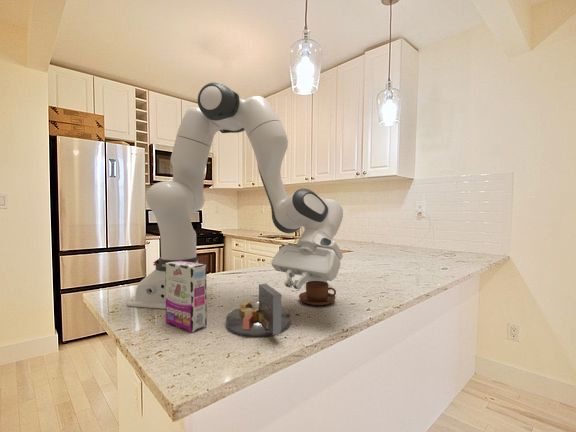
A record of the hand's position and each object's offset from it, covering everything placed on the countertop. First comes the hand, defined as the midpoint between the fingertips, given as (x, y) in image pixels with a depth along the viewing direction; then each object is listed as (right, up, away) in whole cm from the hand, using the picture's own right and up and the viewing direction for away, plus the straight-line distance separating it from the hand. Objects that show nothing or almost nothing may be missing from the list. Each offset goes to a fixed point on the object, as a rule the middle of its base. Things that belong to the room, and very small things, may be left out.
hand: (291, 287), depth 78 cm
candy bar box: (-28, -10, 0) cm, 30 cm away
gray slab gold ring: (-7, -8, -2) cm, 11 cm away
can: (+11, -9, +38) cm, 40 cm away
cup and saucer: (+9, -10, +20) cm, 24 cm away
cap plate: (-9, -10, +2) cm, 13 cm away
